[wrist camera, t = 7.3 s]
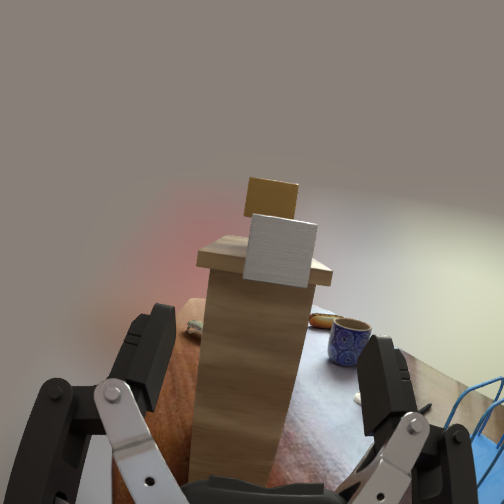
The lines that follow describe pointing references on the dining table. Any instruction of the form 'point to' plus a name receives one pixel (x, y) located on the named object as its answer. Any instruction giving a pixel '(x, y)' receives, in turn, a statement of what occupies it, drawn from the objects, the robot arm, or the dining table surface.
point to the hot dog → (322, 320)
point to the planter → (347, 340)
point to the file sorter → (486, 453)
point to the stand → (246, 364)
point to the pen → (424, 408)
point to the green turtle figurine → (195, 325)
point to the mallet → (277, 235)
